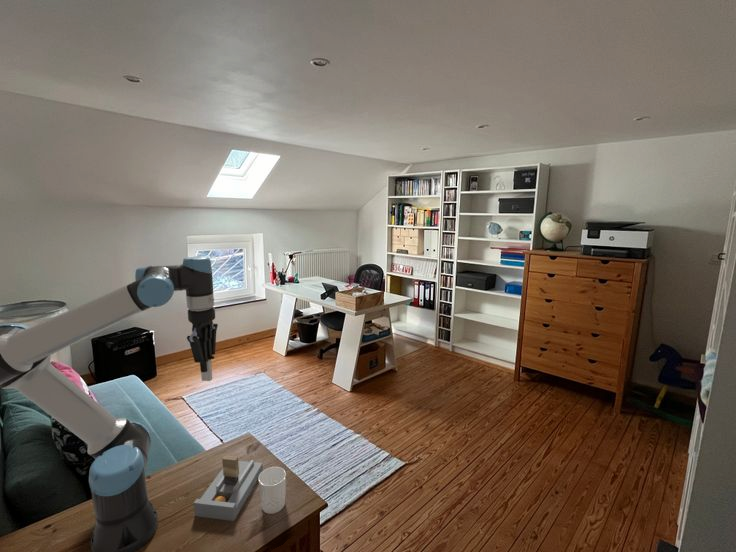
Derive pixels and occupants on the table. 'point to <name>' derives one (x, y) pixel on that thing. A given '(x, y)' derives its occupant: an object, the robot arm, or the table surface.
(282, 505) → the white cup
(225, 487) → the board
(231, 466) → the tan block
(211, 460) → the table surface
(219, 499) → the ball
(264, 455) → the table surface
